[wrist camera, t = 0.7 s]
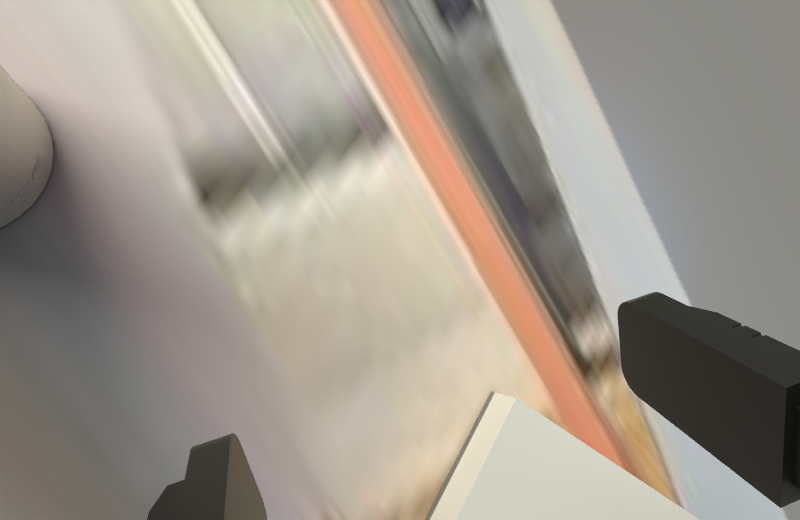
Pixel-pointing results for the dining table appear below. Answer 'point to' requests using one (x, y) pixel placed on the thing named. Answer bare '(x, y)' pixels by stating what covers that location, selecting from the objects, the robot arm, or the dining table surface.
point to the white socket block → (540, 475)
